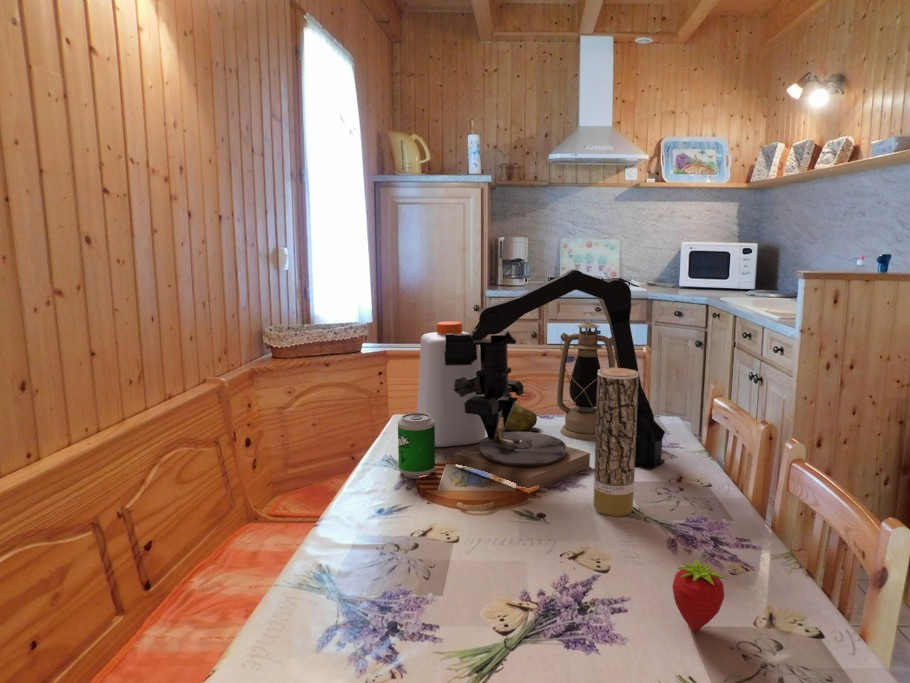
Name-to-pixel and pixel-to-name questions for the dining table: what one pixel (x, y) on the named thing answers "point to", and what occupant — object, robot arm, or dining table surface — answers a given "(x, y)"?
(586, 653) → the dining table surface
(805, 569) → the dining table surface
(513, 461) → the handwheel
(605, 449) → the paper tube
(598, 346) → the lantern
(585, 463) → the wheel base
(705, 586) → the strawberry
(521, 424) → the potato
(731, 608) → the dining table surface
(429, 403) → the plastic bottle
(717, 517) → the dining table surface
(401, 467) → the soda can
